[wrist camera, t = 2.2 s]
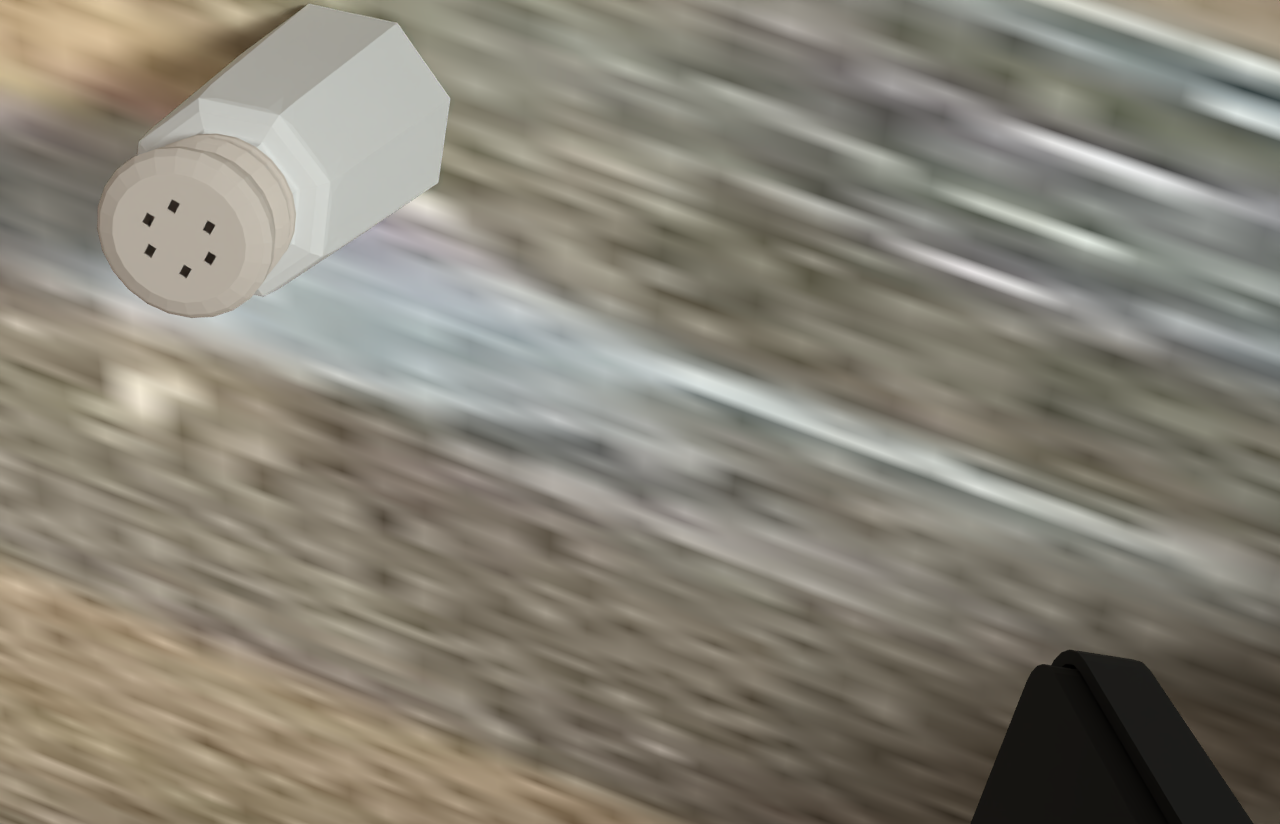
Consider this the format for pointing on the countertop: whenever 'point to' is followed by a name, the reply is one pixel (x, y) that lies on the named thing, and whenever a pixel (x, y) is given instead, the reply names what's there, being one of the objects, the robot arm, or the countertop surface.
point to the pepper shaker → (275, 164)
